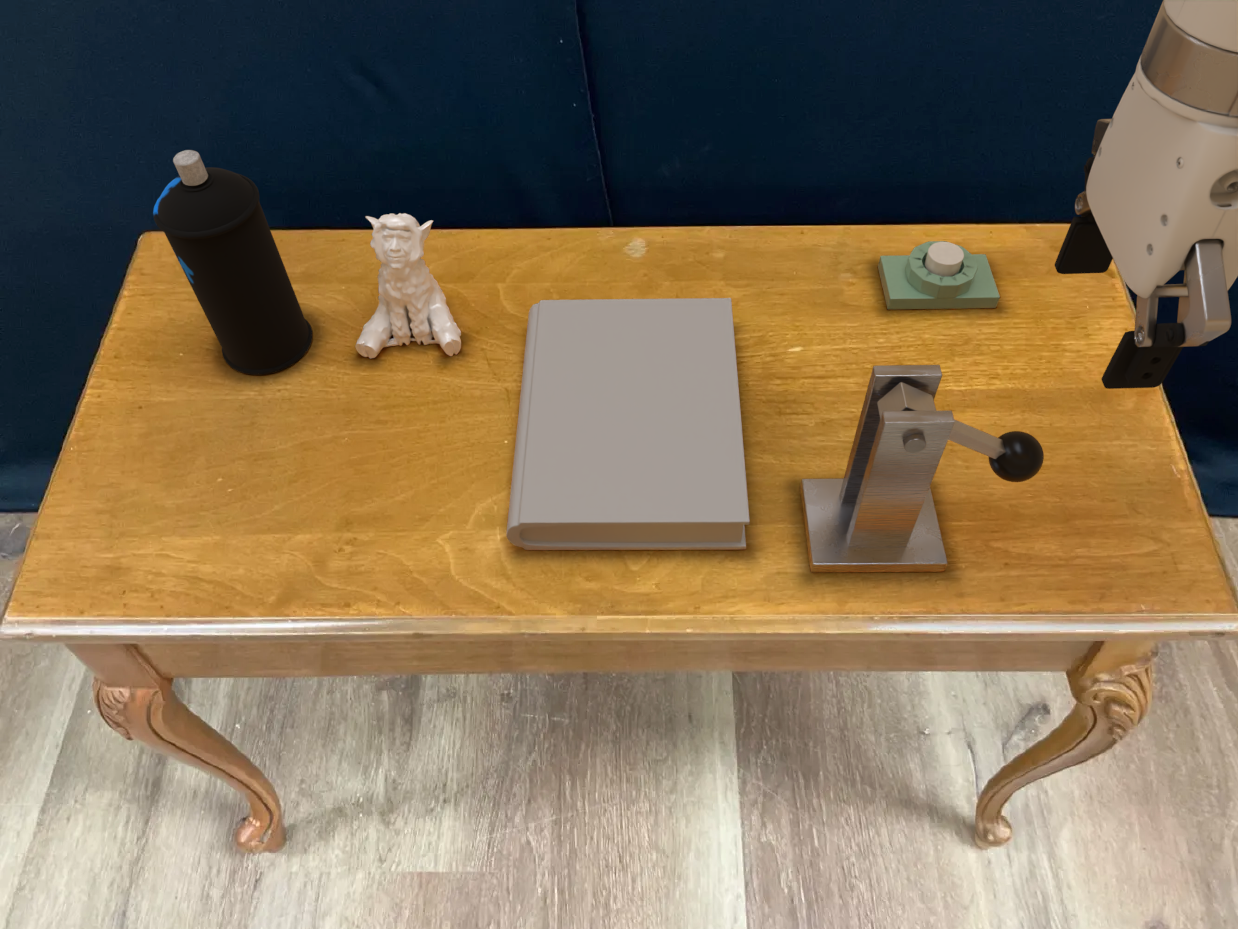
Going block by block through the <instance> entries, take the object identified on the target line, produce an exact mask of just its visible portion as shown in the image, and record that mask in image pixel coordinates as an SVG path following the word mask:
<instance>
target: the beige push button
mask: <svg viewBox="0 0 1238 929" xmlns="http://www.w3.org/2000/svg"><path fill="white" fill-rule="evenodd" d="M955 244H956V243H953V242H949V241H947V242H937V243H934V244H932V245H931V246H930V247H929V249H928V252H927V256H926V259H925V267H926V269H927V270H928V271H929V272H930V273H933V274H936V275H939V276H942V277H951V276H954V275H956V274H957V273H958V272H959V270H960V267H961V264H962V261H963V258H964V253H963V251H962V249H961V248H960V247H959V246H960V245H959V246H957V245H958V244H956V245H955Z"/></svg>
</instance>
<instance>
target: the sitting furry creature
mask: <svg viewBox="0 0 1238 929" xmlns="http://www.w3.org/2000/svg"><path fill="white" fill-rule="evenodd" d="M364 217H365V219H366V220H367V221H369V223H370V224H371V227H372V229H373V230H372V232H371V236H372V238H371V240H370V243H369V245H370V248H372V249H373V251H374V253H375V258H376V260H378V261H379V262H380V268H379V269H378V270H377V271H378V274H377V283H378V287H377V288H378V289H377V290H378V294H379V295H378V297H377V298H378V305H377V308H376V309H375V311H374V313H373V314H372V315H371V317H370V319H369V320H368V321H366V322H365V323H364V325H363V326H362V331H361V332H360V335H359V337H358V338H357V340H356V342H355V345H354V348H355V350H356V351H357V353H358V354H359V355H361V356H362V357H364V358H367V357H368V358H369V360H371V359H375V358H376V357H377V356H378V355H379V354H380V353H381V351H382V350H383V348H387V347H394V346H395V347H396V346H400V347H401V346H403V344H405V346H409V345H410V344H411V342H416V344H418V345H422V344H423V346H427V345H429V344H430V345H431V344H437V345H439V346H440V348H441V349H442V350H443V352H444V353H445V354H446V355H448V356H449V357H453V355H458V353H459V352H460V351H461V349H462V340H461V336H462V331H461V329H460V328H459V326H458V324H457V323H456V321H455V320H454V316H453V315H452V313H451V312H450V308H449V306H448V304H447V298H446V296H445V293H444V292H443V289H442V288H441V286H440V284H439V283H438V281H437V279H436V278H434V275H433V274H432V273H430V268H429V267H428V265H426V261H425V260H424V259H423V257H424V255H425V253H424V250H425V241H426V240H427V239H428V238H429V235H430V234H431V228H432V225H433V222H434V220H432V219H431V220H427V221H426V222H424V223H423V224H421V225H420V223H419V221H418V220H417V219H416V217H414V216H412V215H411V214H408V213H406V212H403V213H401V212H399V213H398V214H396V213H389V214H387V213H386V214H383V215H381V216H380V217H379V218H376V217H373V216H370V215H365V216H364ZM412 336H413V337H412ZM391 337H393V338H391ZM433 338H434V339H433Z"/></svg>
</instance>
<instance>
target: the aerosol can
mask: <svg viewBox="0 0 1238 929" xmlns="http://www.w3.org/2000/svg"><path fill="white" fill-rule="evenodd" d="M172 162H173V164H174V167H175V168H176V171H177V173H178V176H176V177H175V178H174V179H172V180H170V182H169V183H168V184H167V185H166V186H165V187H164V189H163V191H162V192H161V194H160V196H159V197H158V198H157V200H156V202H155V204H154V206H153V211H152V216H153V221H154V223H155V225H156V227H157V228H159V229H160V230H161V231H162V232H163V233H164V235H165V237H166V239H167V241H168V243H169V245H170V248H171V249H172V251H173V253H174V255H175V257H176V259H177V261H178V263H179V265H180V267H181V269H182V271H183V273H184V275H185V277H186V279H187V281H188V284H189V285H190V287H191V289H192V291H193V293H194V295H195V297H196V299H197V301H198V303H199V305H200V307H201V309H202V311H203V313H204V315H205V317H206V319H207V321H208V323H209V325H210V327H211V329H212V331H213V333H214V335H215V337H216V339H217V341H218V343H219V345H220V347H221V353H222V358H223V360H224V361H225V363H226V364H227V365H228V366H229V367H230V368H231V369H233V370H234V371H237V372H239V373H242V374H244V375H245V374H246V375H251V376H261V375H262V376H263V375H269V374H274V373H277V372H280V371H282V370H285V369H287V368H289V367H291V366H293V365H294V364H295V363H297V362H299V361H300V359H301V358H303V357H304V355H305V354H306V353H307V352H308V351H309V349H310V347H311V345H312V341H313V328H312V326H311V323H310V322H309V321H308V320H307V319H306V318H305V316H304V313H303V311H302V307H301V305H300V303H299V300H298V298H297V295H296V293H295V290H294V287H293V285H292V282H291V279H290V277H289V274H288V272H287V269H286V267H285V264H284V261H283V258H282V256H281V254H280V251H279V249H278V246H277V244H276V240H275V239H274V236H273V233H272V231H271V228H270V226H269V223H268V221H267V219H266V216H265V213H264V210H263V207H262V205H261V203H260V192H259V188H258V187H257V185H256V184H255V182H254V181H253V180H251V179H250V178H249V177H247V176H246V175H243V174H240V173H237V172H234V171H231V170H228V169H224V168H221V167H214V166H213V167H212V166H211V167H205V164H204V162H203V160H202V157H201V155H200V153H199V152H198V151H196V150H193V149H185V150H182V151H180V152H177V153H176V154H175V155H174V157H173V159H172Z"/></svg>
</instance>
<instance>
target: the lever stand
mask: <svg viewBox="0 0 1238 929" xmlns="http://www.w3.org/2000/svg"><path fill="white" fill-rule="evenodd" d="M942 378H943V372H942V368H941V365H940V364H896V365H895V364H892V365H891V364H890V365H889V364H887V365H883V364H882V365H881V364H879V365H873V366H872V370H871V374H870V377H869V381H868V385H867V389H866V392H865V397H864V400H863V403H862V408H861V411H860V415H859V418H858V422H857V425H856V426H857V427H856V431H855V434H854V437H853V438H854V439H853V442H852V446H851V449H850V453H849V456H848V460H847V464H846V468H845V472H844V475H843V478H842V477H841V478H802V479H801V481H800V486H799V491H800V500H801V506H802V514H803V515H802V516H803V522H804V530H805V537H806V545H807V552H808V553H807V554H808V561H809V570H810V573H929V572H930V573H932V572H933V573H939V572H941V573H943V572H944V573H945V571H946V568H947V566H948V564H949V563H948V558H947V554H946V549H945V544H944V541H943V536H942V531H941V528H940V523H939V519H938V515H937V511H936V506H935V503H934V502H935V501H934V498H933V494H932V493H933V492H932V489H931V484H932V483H933V479H934V477H935V474H936V472H937V469H938V468H939V464H940V461H941V459H942V457H943V454H944V451H945V450H946V446H947V444H948V441H949V440H948V439H949V436H950V433H951V431H952V428H953V426H954V423H955V421H954V419H955V417H954V413H953V410H936V411H883V413H882V416H881V419H880V414H879V409H878V404H877V402H878V401H879V400H880V399H881V398H883V397H884V396H885V395H886V394H887V393H888V392H890V391H891V390H892V389H893V388H894V387H895V386H897V385H898V384H899V383H900V382H903V383H905V384H907V385H910V386H912V387H914V388H917V389H919V390H921V391H923V392H926V393H928V394H930V395H932V396H933V400H934V401H935V398H936V395H937V392H938V389H939V386H940V384H941V381H942Z"/></svg>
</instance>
